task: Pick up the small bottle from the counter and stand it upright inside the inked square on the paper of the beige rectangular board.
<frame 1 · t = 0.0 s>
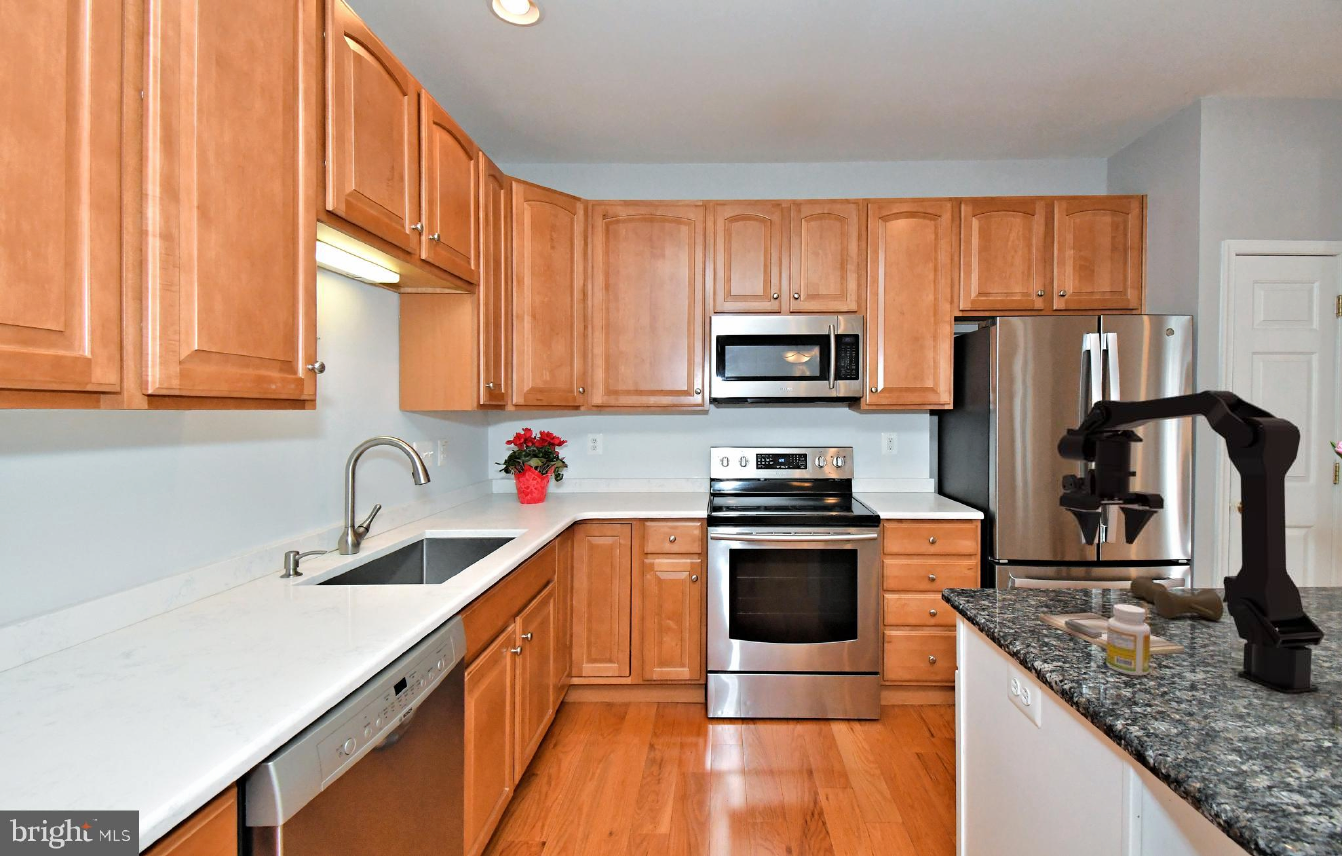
hand: (1109, 544, 119), 15 cm above the countertop, tool pointing down, fingers open, 9 cm apart
beige rectangular board: (1106, 634, 110), on the countertop
supplement bottle: (1127, 670, 95), on the countertop
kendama: (1173, 613, 124), on the countertop
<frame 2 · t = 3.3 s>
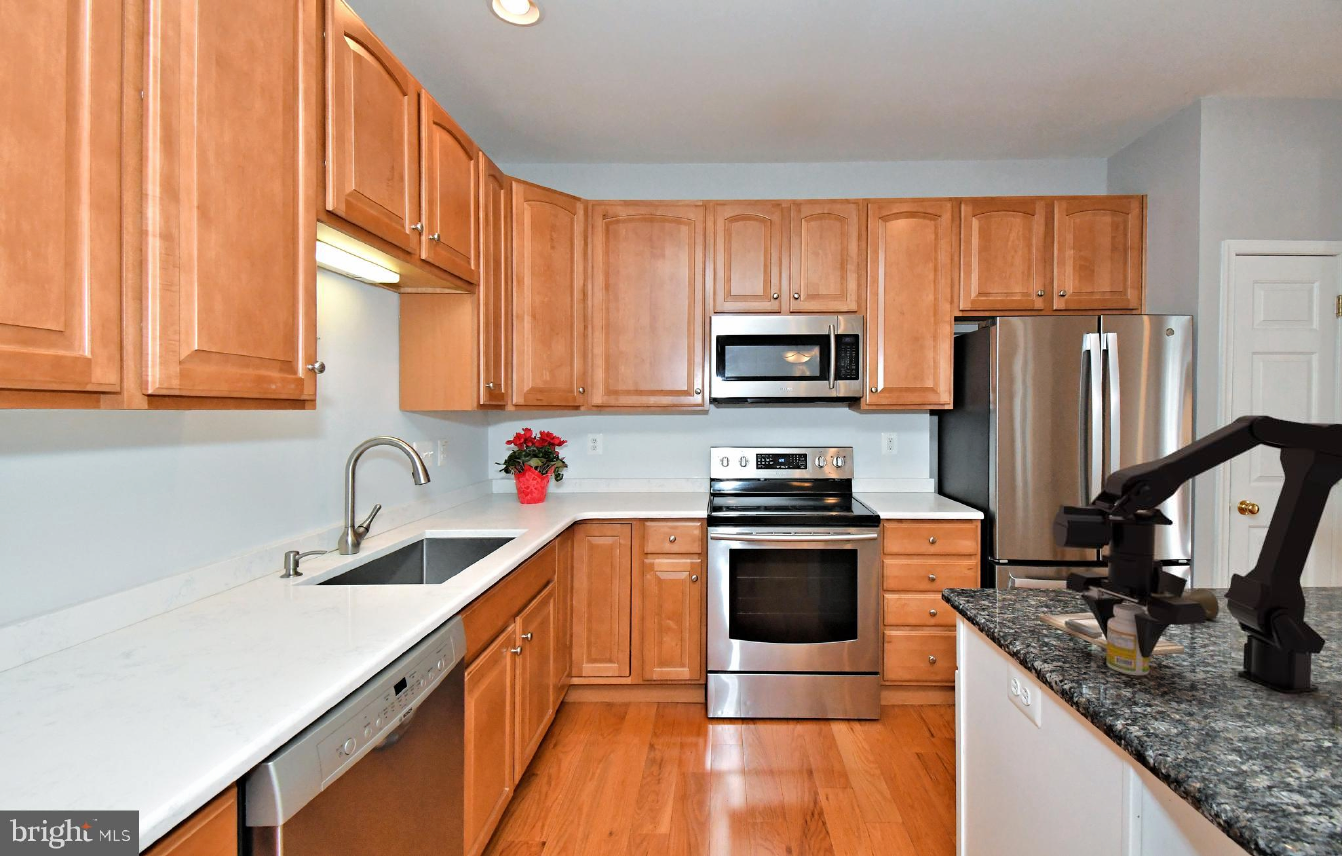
hand: (1127, 649, 95), 3 cm above the countertop, tool pointing down, fingers closed on supplement bottle, 5 cm apart
supplement bottle: (1127, 670, 95), on the countertop, touching gripper
when the fingers open (5 cm above the countertop, at t = 8.2 s): supplement bottle drops 1 cm, resting on beige rectangular board.
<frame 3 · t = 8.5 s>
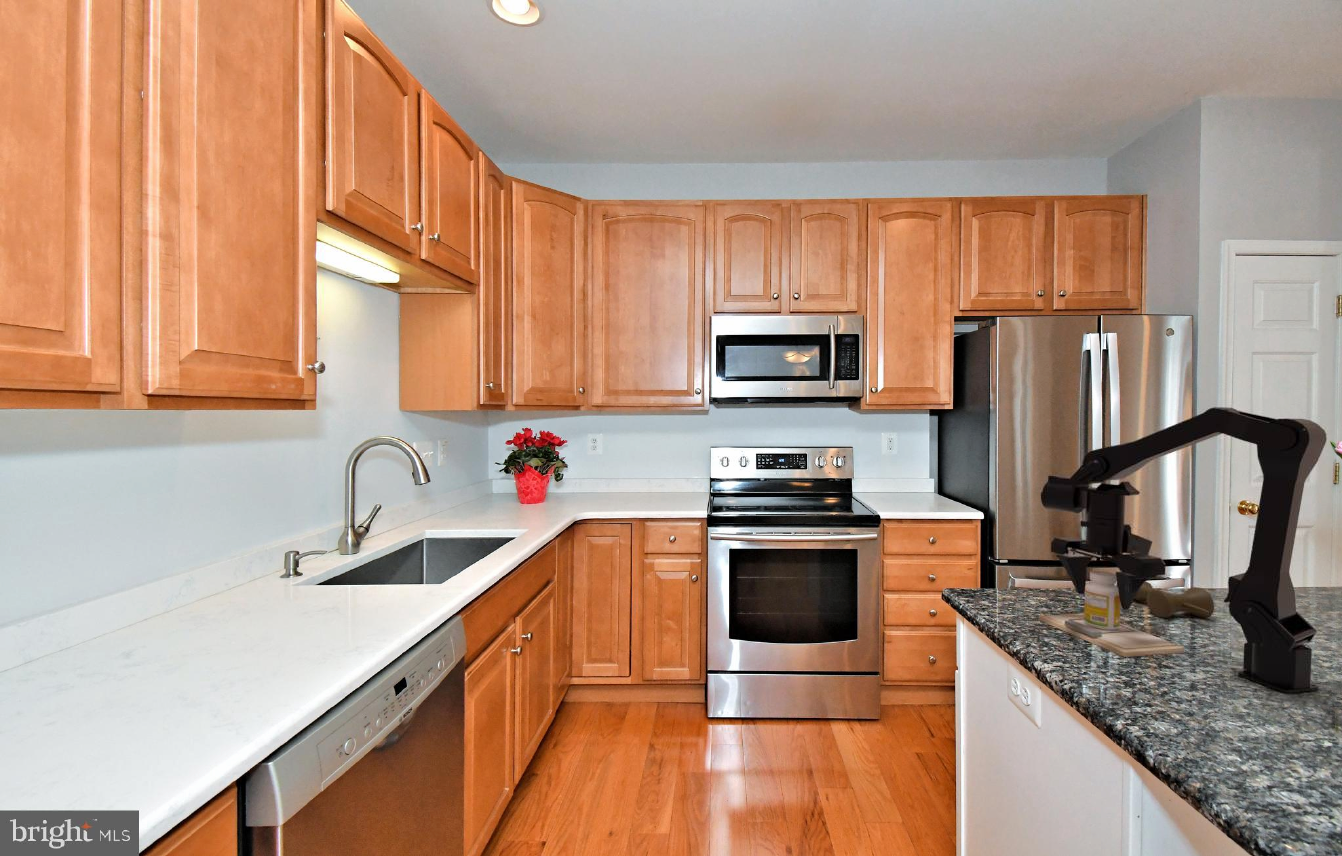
hand: (1102, 601, 112), 5 cm above the countertop, tool pointing down, fingers open, 9 cm apart
supplement bottle: (1101, 626, 112), point 1 cm above the countertop, touching beige rectangular board
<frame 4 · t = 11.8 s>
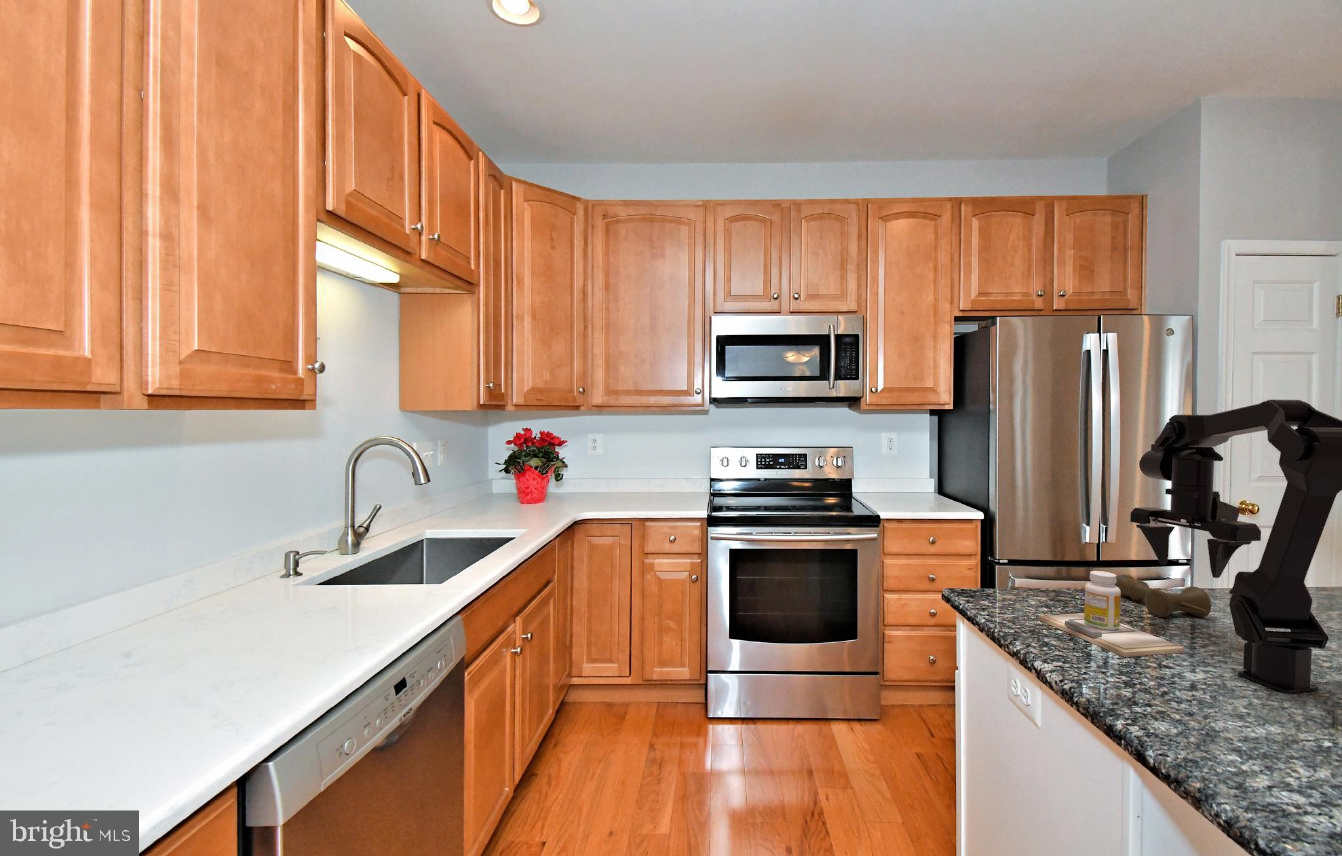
hand: (1188, 570, 110), 12 cm above the countertop, tool pointing down, fingers open, 9 cm apart
at the end: supplement bottle inside the target area (0.1 cm from its centre), point 0.8 cm above the countertop; supplement bottle tilted 0°; the gripper is holding nothing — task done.
